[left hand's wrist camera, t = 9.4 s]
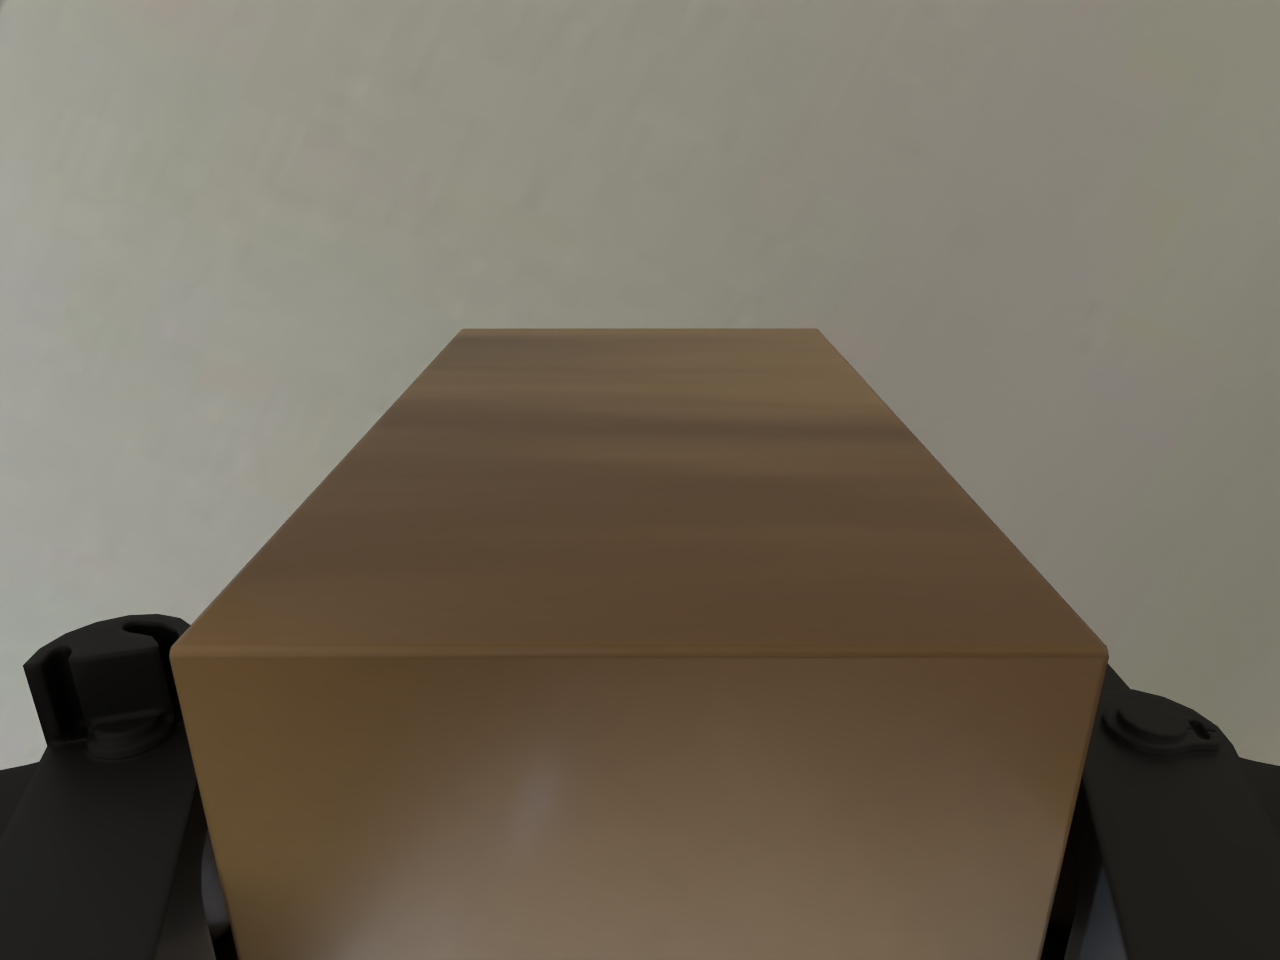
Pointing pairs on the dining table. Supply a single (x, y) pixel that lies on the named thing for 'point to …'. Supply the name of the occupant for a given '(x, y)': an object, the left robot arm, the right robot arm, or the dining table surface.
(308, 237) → the dining table surface
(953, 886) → the bar
